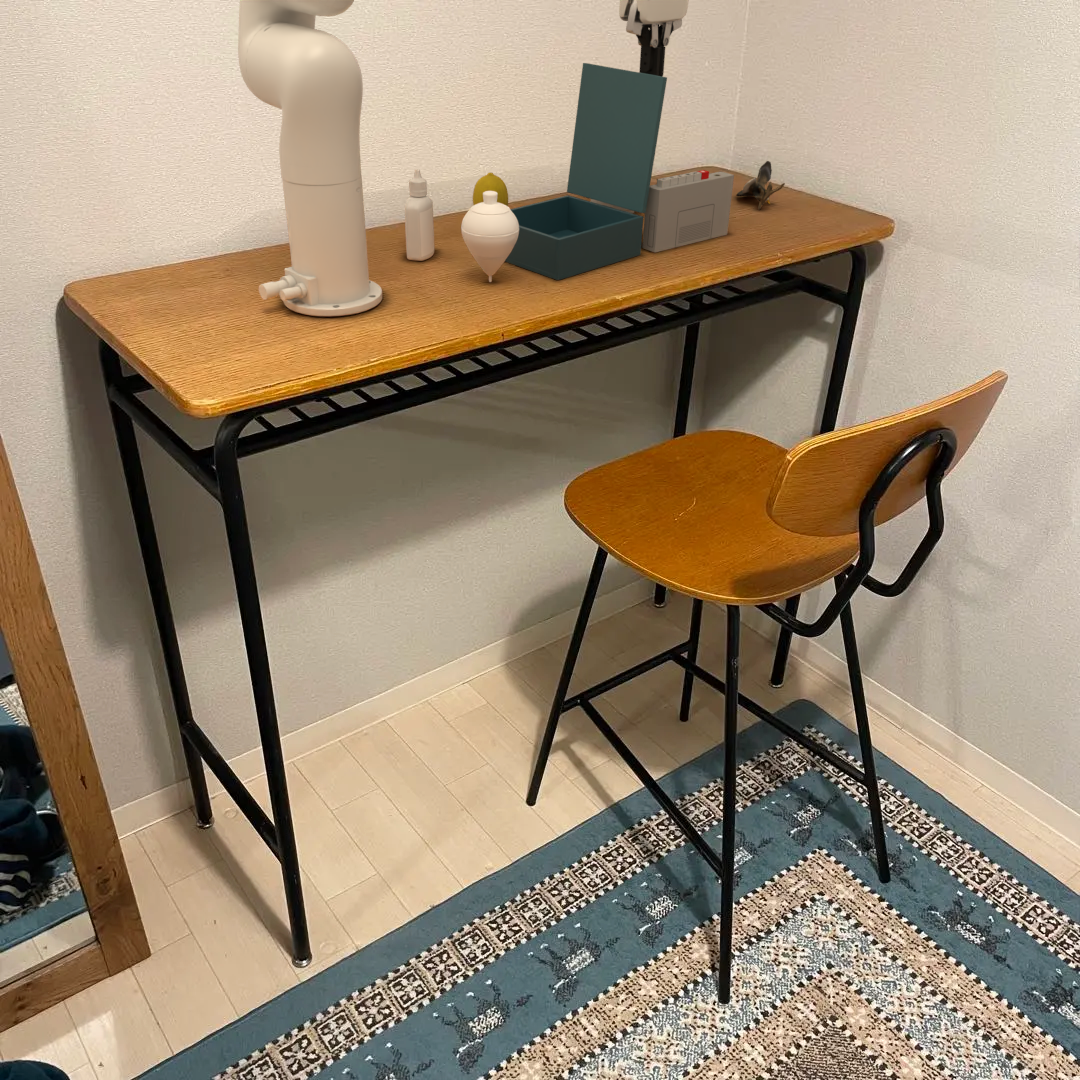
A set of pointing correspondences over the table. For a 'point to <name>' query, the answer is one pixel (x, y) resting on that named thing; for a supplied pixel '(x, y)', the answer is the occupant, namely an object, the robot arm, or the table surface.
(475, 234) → the spinning top
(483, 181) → the lemon
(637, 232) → the chest
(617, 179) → the lid
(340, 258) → the robot arm
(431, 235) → the eye dropper bottle
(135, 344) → the table surface
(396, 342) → the table surface
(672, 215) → the cassette player
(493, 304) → the table surface
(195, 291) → the table surface
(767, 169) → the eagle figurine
